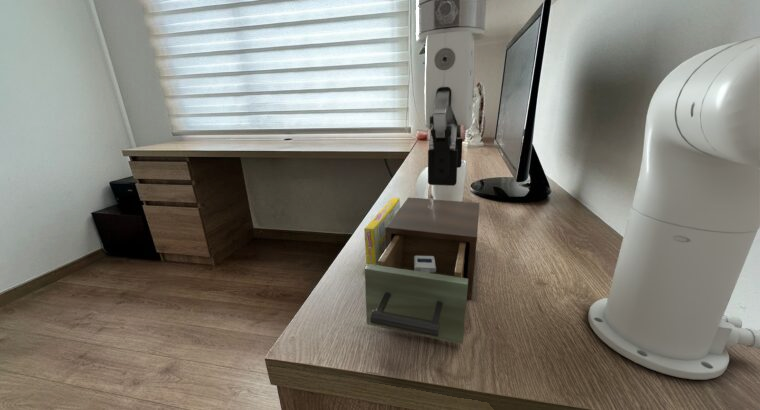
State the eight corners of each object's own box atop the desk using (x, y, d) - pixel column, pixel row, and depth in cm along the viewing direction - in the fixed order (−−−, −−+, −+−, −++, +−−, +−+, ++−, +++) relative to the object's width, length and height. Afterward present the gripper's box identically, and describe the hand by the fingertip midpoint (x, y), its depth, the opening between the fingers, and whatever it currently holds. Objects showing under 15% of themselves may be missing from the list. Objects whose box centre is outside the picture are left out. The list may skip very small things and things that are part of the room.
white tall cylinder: (462, 236, 65) (468, 165, 60) (429, 234, 67) (432, 164, 62) (461, 224, 71) (466, 158, 67) (431, 222, 73) (433, 158, 68)
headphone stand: (445, 214, 78) (448, 166, 74) (423, 218, 76) (425, 169, 72) (435, 208, 82) (437, 162, 78) (414, 212, 80) (415, 165, 76)
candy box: (391, 234, 67) (391, 197, 64) (401, 235, 66) (401, 197, 64) (365, 273, 53) (363, 227, 50) (377, 274, 52) (376, 228, 49)
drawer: (459, 379, 31) (464, 313, 29) (351, 353, 35) (347, 292, 32) (468, 280, 48) (472, 233, 45) (395, 269, 51) (395, 225, 49)
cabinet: (471, 299, 45) (477, 237, 42) (385, 285, 49) (385, 227, 46) (475, 252, 58) (479, 202, 55) (407, 244, 62) (408, 197, 59)
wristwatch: (435, 308, 40) (437, 274, 38) (413, 307, 40) (414, 273, 39) (432, 281, 46) (433, 250, 44) (413, 281, 46) (413, 250, 45)
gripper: (486, -1, 26) (475, 195, 32) (484, 35, 42) (477, 162, 47) (399, 11, 29) (402, 192, 34) (428, 40, 44) (427, 161, 50)
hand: (446, 174), depth 41 cm, fingers open, 9 cm apart
